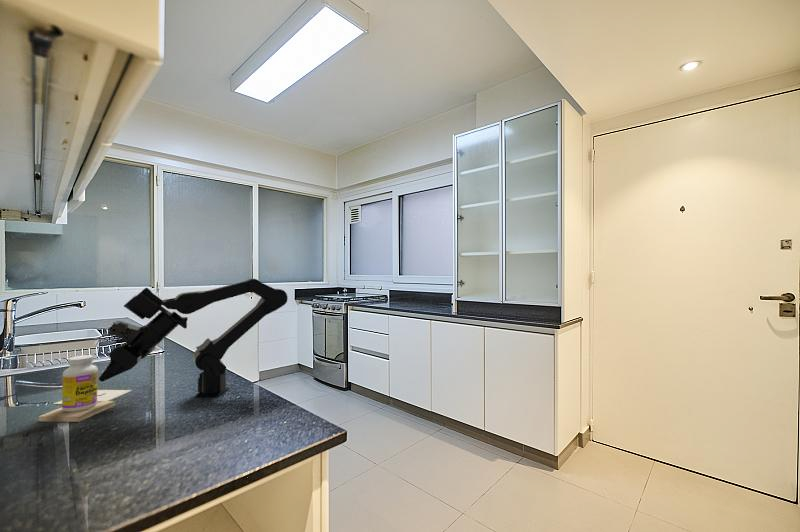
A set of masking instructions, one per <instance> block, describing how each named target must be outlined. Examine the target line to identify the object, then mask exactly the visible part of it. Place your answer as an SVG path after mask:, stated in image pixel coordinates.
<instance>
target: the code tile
mask: <svg viewBox="0 0 800 532" xmlns="http://www.w3.org/2000/svg"><path fill="white" fill-rule="evenodd" d="M132 391H133V389H97V401H113V400H114V399H117V398H119V397H121V396H123V395H126V394H128V393H131V392H132ZM52 405H62V399H61V400H58V401H57V402H53V404H52Z"/></svg>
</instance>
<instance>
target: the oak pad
mask: <svg viewBox="0 0 800 532" xmlns="http://www.w3.org/2000/svg"><path fill="white" fill-rule="evenodd" d="M115 404H116V403H115V401H114V400H110V401H97V403H96V405H95V406H93V407H91V408H88V409H85V410H81V411H75V412H65V411H63V410H62V406H61V407H58V408H57V409H54V410H51V411H49V412H47V413H44V414H42V415H39V416H38V422H55V423H56V422H57V423H58V422H59V423H60V422H61V423H62V422H65V423H69V422H71V423H72V422H73V423H74V422H76V423H77V422H79V423H80V422H82V421H84V420H86V419H89V418H91V417H93V416H96V415H97V414H100V413H101V412H103V411H106V410H108V409H110V408H112V407H115Z"/></svg>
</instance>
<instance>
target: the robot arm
mask: <svg viewBox="0 0 800 532" xmlns="http://www.w3.org/2000/svg"><path fill="white" fill-rule="evenodd" d="M248 293H253V294H255V295H256V296H258V297H260V299H259V300H258V302H257V304H255V306H254V307H253V308H252V309H251V310H250V311H248V312H247V313H246V314H244V316H242V317H240V319H239V320H237V321H236V322H235V323H234V324H232V325H231V327H229V328H228V329H227V330H226V331H224V333H222V334H221V335H220V336H218V337H217V338H215V339H213V340H211V339H210V338H208V337H207V338H206V339H205V340H204V341H203V343H201V344H200V345H198V346H196V348H195V349H196V350H195V351H194V352H193V355H192V361H193V363H194V365H195V366H196V367H197V369H198V370H200V371H201V372H199V375H198V379H197V392H198V393H196V394H195V397H203V398H204V397H206V398H207V397H214V398H215V397H219V396H220V395H222V394H224V393H225V392H227V391H228V390H229V387H227V385H226V384H227V382H226V381H227V380H226V379H227V378H226V377H227V371H226V369H227V365H225V364H224V362H223V361H222V358H224V356H225V354H226V352H228V350H229V348H230V347H231V346H232V345H233V344H235V343H236V342H238V340H239V339H241V338H242V337H243V336H244V335H245V334H246V333H248V331H249V330H251V329H252V328H253V327H255V325H256V324H257V323H259V322H260V321H261V320H262V319H263V318H264V317H266V316H267V315H269V314H271V313H273V312H276V311H277V310H279V309H281V308H282V307H284V306H285V305H286V304H287V303H288V297H289V296H288V294H287V292H286V291H285V290H284V289H280V288H273V287H272V286H269V285H267V284H265V283H263V282H261V281H259V280H258V279H256V278H248V279H246V280H243V281H240V282H236V283H235V282H234V283H231V284H228V285H223V286H221V287H220V286H219V287H217V288H212V289H208V290H201V291H189V292H182V293H179V294H178V295H176V296H175V297H174V298H173V297H172V298H168V299H167V298H165V299H161V298H160V297H159V296H157V295H156V294H155V293H153V292H152V290H151V289H150V288H148V287H145V288H144V289H142V290H141V291H140V292H139V293H137V294H136V295H133V297H131V298H130V299H129V300H128V301H127V302H126V303H125V304H124V305H123V307H124V308H125V309H127V310H129V311H130V312H131V313H133V315H135V316H137V317H138V318H139V319H141V320H144V319H145V318H146V319H148V320H150V319H151V318H152V319H151V320H150V321H149V322H148V323H147V324H145V325H143V326H141V327H139V326H137V325H135V324H131V323H128V322H125V321H122V320H116V321H114V322H113V323H112V325H111V326H110V327H108V329H109V331H108V332H107V335H109V336H112V337H113V336H115V337H117V338H121V339H122V340H123V339H124V342H125V343H126V344H119V345H118V346H115V347H114V348H113V349H112V350H110V352H109V356H108V357H109V359H110V362H109V364H108V365H107V366H106V368H105V369H104V370H103V372H102V373H101V374H100V376H99V378H98V381H100V382H101V383H103V382H105V381H107V380H109V379H112V378H114V377H116V376H118V375H120V374H123V373H125V372H128V371H130V370H132V369H133V368H134V367H135V366H137V365H138V364H139V363H140V362H141V361H142V359H144V358H146V357H147V356H148V355H150V354H151V353H152V352H153V351H154V350H156V347H157V345H159V344H160V343H161V342H162V341H163V340H165V339H166V337H167V336H168V335H169V334H171V333H172V332H174V330H175V329H176V328H177V327H178V326H180V327H182V328H183V329H187V327H188V318H189V317H187V316H185V317H184V316H181V315H180V314H182V315H190V314H193V313H196V312H197V311H199V310H201V309H204V308H205V307H207V306H209V305H211V304H213V303H216V302H220V301H224V300H227V299H230V298H235V297H238V296H241V295H244V294H248ZM170 310H176V311H177V312H178V313H179V314H178V313H177V312H176V311H172V312H171V311H170ZM159 311H160V312H159ZM158 312H159V313H158ZM157 313H158V314H157ZM156 314H157V315H156ZM155 315H156V316H155ZM153 317H154V318H153Z"/></svg>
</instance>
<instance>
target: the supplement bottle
mask: <svg viewBox="0 0 800 532" xmlns="http://www.w3.org/2000/svg"><path fill="white" fill-rule="evenodd" d="M93 361H94V356H93V355H91V354H87V355H86V354H85V355H78V356H71V357H69V358H68V362H67V363H68V365H69V366H68V367H67V368H66V369H65V370H64V371H63V372H62V393H61V400H62V404H61V407H62V410H63V411H65V412H75V411H81V410H85V409H88V408H91V407H93V406H95V405H96V403H97V390H98V381H99V378H98V375H99V370H98V369H99V368H98V366H97V365H95V364H93Z"/></svg>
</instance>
